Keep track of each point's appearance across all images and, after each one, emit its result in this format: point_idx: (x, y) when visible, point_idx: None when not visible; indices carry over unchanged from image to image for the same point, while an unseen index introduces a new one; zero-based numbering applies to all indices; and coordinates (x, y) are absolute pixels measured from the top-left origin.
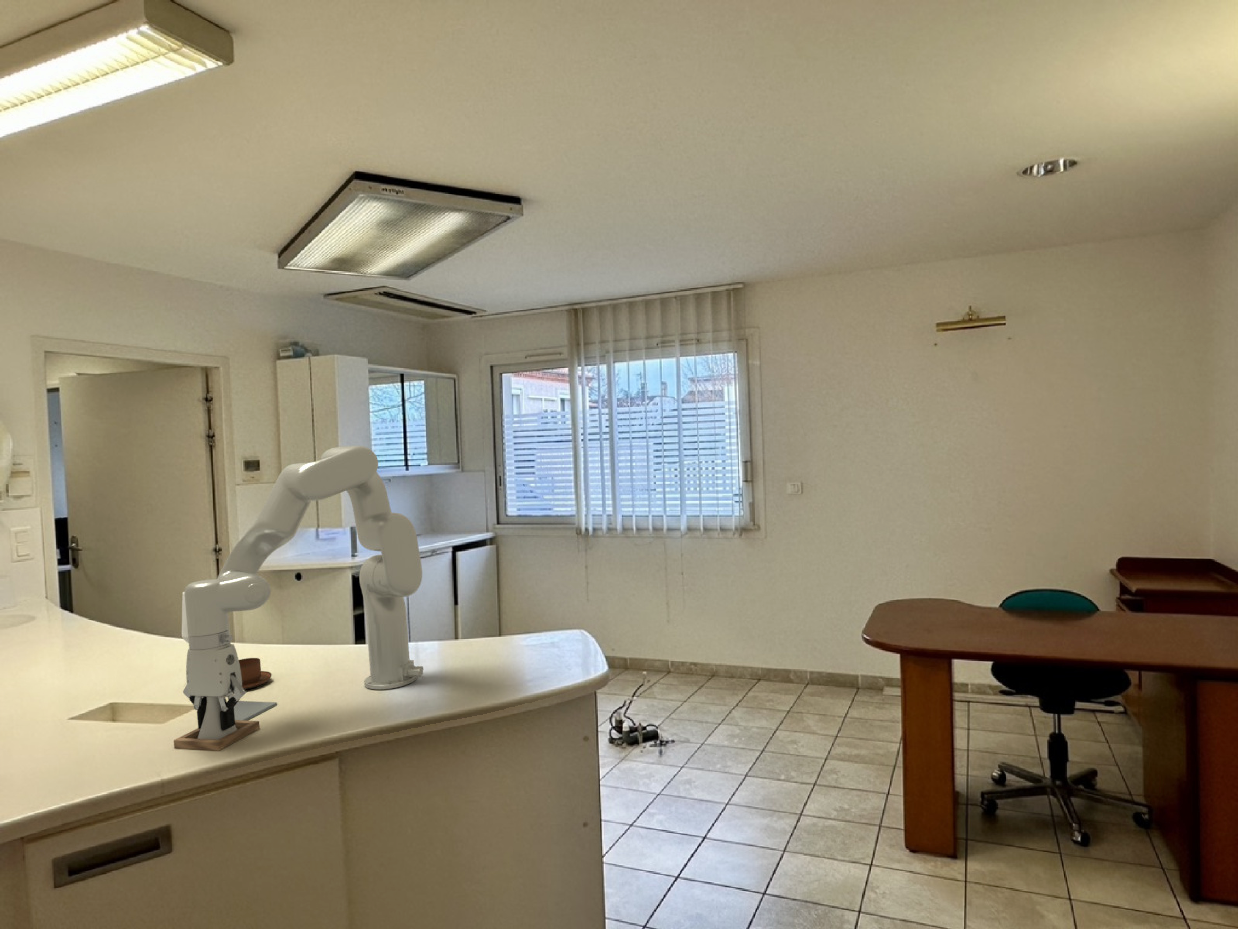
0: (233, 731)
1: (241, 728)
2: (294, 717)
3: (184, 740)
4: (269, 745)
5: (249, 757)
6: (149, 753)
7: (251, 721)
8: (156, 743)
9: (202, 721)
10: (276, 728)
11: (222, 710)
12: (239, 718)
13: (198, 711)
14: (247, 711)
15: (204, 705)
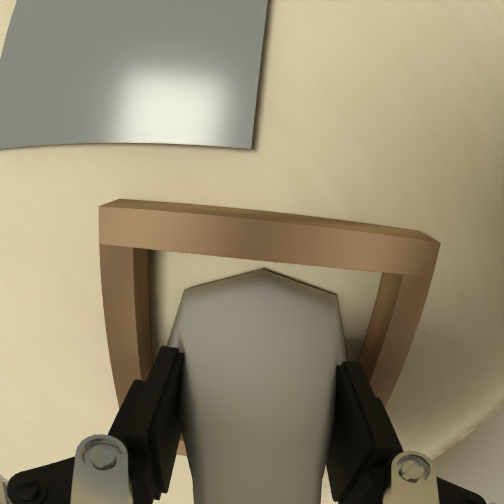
0: (342, 349)
1: (390, 346)
2: (496, 91)
3: (179, 453)
4: (498, 374)
5: (460, 439)
6: None
7: (398, 247)
8: (30, 371)
9: (179, 437)
10: (488, 228)
11: (348, 500)
12: (206, 107)
13: (155, 495)
14: (180, 2)
15: (147, 491)
